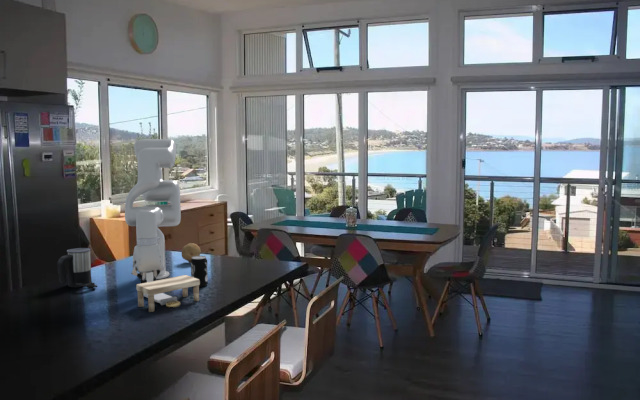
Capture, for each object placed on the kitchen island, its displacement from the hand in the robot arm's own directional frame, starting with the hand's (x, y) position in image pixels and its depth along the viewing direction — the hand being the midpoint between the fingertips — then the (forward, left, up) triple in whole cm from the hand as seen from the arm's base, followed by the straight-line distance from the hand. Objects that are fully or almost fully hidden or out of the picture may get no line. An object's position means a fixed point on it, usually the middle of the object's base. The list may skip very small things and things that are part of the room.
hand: (148, 288), depth 209 cm
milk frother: (-29, -14, -3) cm, 32 cm away
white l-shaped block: (+7, 0, -3) cm, 8 cm away
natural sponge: (-36, +40, -3) cm, 54 cm away
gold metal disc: (+19, 0, -3) cm, 19 cm away
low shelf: (+15, 0, -3) cm, 16 cm away
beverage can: (+2, +21, -3) cm, 21 cm away
